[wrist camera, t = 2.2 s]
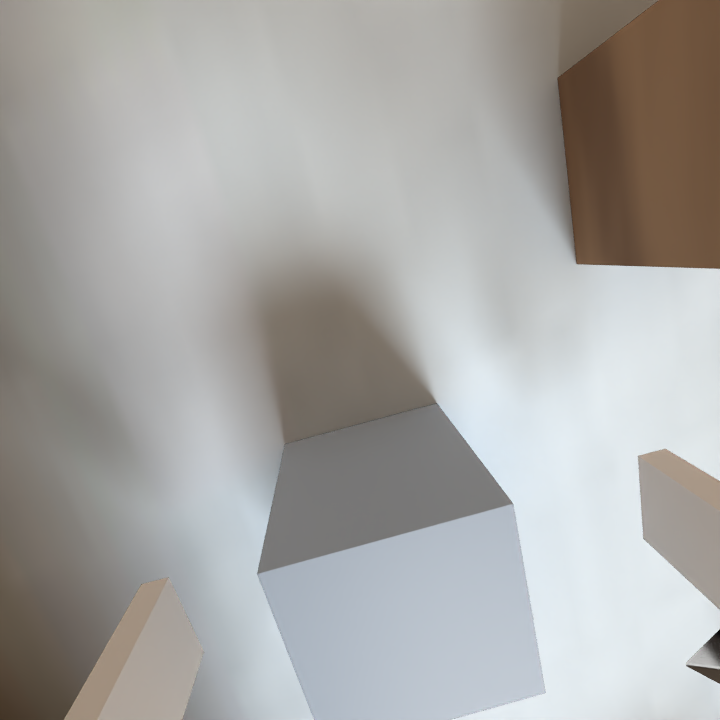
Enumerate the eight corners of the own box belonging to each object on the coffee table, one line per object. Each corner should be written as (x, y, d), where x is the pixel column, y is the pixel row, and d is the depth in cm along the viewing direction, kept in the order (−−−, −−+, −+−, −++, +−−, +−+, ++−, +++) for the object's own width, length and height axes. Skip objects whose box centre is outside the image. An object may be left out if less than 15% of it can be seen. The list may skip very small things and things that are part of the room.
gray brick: (326, 569, 16) (327, 754, 10) (285, 443, 14) (257, 573, 8) (464, 531, 16) (545, 692, 10) (436, 402, 14) (512, 503, 8)
